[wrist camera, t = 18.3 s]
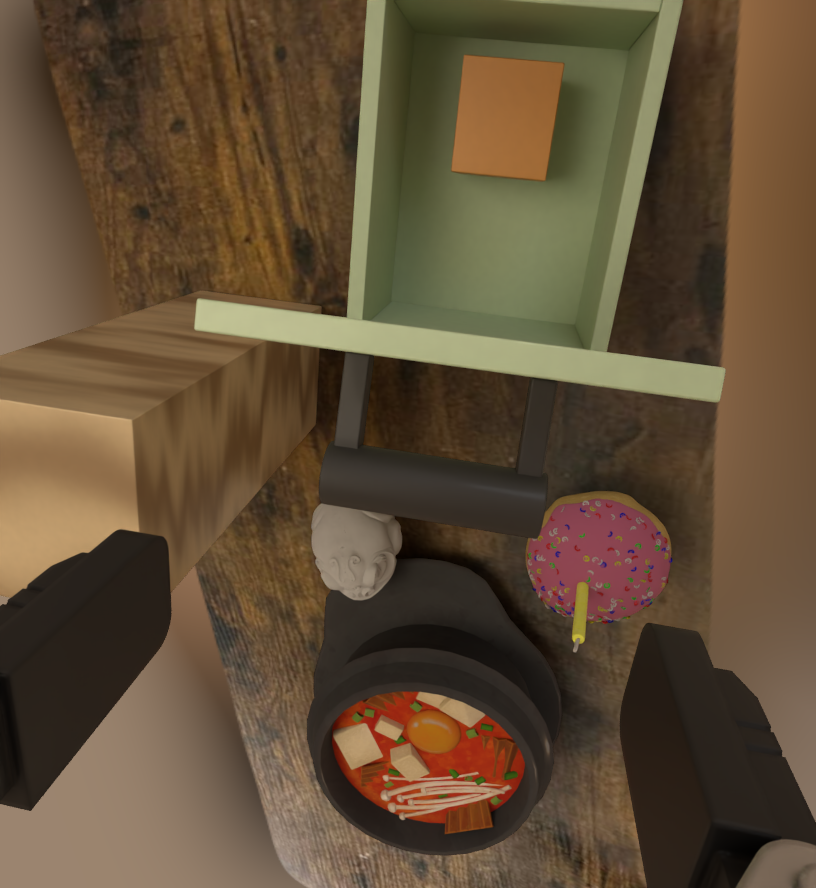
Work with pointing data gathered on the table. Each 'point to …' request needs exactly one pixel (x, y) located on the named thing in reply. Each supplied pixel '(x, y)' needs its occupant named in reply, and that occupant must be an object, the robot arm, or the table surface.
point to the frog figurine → (355, 549)
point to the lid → (437, 478)
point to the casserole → (431, 712)
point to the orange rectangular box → (506, 117)
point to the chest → (500, 199)
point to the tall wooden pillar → (143, 433)
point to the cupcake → (598, 558)
